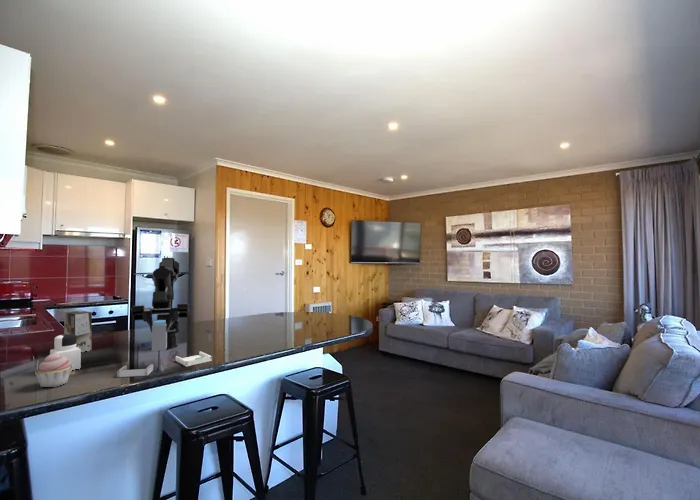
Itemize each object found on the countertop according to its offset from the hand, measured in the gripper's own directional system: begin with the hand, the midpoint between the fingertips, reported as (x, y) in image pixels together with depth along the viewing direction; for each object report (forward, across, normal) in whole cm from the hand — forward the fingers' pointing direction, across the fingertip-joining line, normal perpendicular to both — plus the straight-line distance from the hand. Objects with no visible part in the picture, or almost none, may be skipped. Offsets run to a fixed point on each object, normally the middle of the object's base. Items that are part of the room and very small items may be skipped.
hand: (159, 331), depth 127 cm
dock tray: (+6, +11, +12) cm, 18 cm away
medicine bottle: (+3, -30, +16) cm, 34 cm away
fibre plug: (+4, 0, +6) cm, 7 cm away
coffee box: (-16, -33, +36) cm, 51 cm away
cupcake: (+14, -28, +4) cm, 31 cm away
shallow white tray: (+12, -7, +6) cm, 15 cm away
